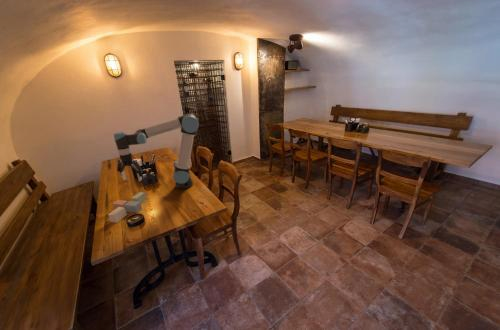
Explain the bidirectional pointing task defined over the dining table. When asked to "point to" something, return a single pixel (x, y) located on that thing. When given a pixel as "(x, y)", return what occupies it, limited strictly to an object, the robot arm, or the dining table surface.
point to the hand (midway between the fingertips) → (132, 180)
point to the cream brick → (117, 214)
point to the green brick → (139, 197)
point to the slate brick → (133, 207)
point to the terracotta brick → (119, 204)
